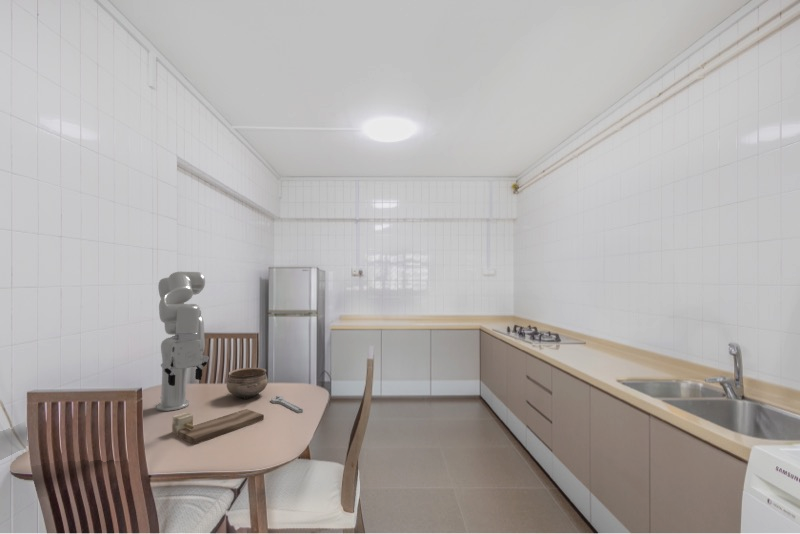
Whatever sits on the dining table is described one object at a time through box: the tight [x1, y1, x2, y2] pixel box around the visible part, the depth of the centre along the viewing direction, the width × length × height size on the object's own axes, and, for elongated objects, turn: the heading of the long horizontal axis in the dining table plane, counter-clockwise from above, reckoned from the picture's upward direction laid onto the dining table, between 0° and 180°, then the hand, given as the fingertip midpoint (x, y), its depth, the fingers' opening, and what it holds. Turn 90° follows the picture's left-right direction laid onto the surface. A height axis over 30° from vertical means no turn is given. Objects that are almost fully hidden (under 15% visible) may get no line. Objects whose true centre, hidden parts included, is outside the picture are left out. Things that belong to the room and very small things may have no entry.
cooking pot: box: [226, 367, 269, 400], centre depth 179 cm, size 25×19×12 cm
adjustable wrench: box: [270, 395, 304, 414], centre depth 166 cm, size 25×6×2 cm, turn 41°
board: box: [177, 408, 265, 445], centre depth 141 cm, size 12×28×2 cm, turn 146°
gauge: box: [171, 412, 194, 436], centre depth 135 cm, size 10×5×6 cm, turn 56°
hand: (185, 382), depth 137 cm, fingers open, 9 cm apart
